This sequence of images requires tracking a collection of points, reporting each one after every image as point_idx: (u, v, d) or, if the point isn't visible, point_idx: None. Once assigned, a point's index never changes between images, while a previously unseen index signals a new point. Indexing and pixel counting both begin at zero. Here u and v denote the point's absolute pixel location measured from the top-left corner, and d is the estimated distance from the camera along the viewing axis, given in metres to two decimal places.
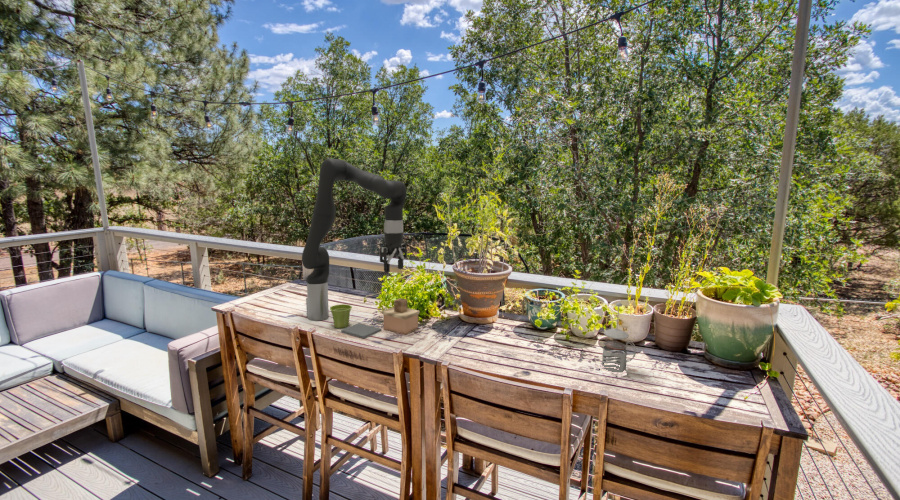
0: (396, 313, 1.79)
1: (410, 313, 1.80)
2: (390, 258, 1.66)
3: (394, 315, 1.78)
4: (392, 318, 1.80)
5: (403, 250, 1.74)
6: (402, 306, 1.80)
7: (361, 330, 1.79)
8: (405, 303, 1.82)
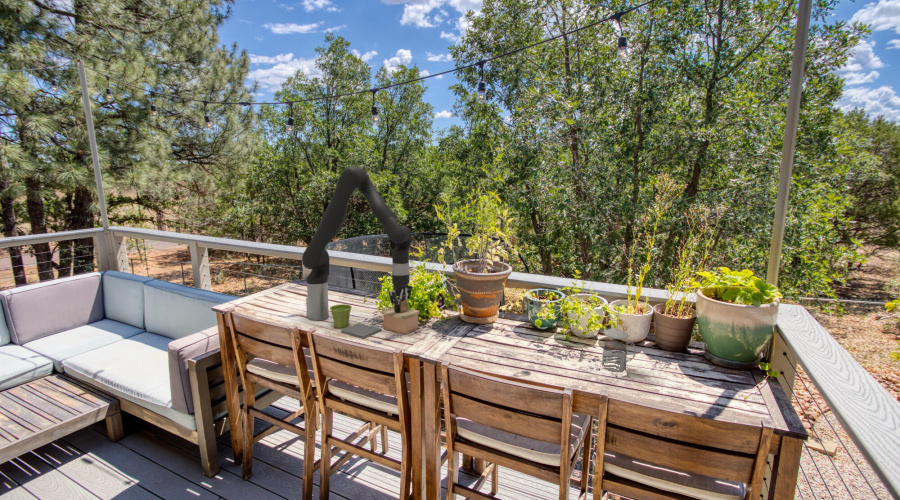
0: (396, 313, 1.79)
1: (410, 313, 1.80)
2: (399, 299, 1.79)
3: (394, 315, 1.78)
4: (392, 318, 1.80)
5: (408, 291, 1.85)
6: (402, 306, 1.80)
7: (361, 330, 1.79)
8: (405, 303, 1.82)
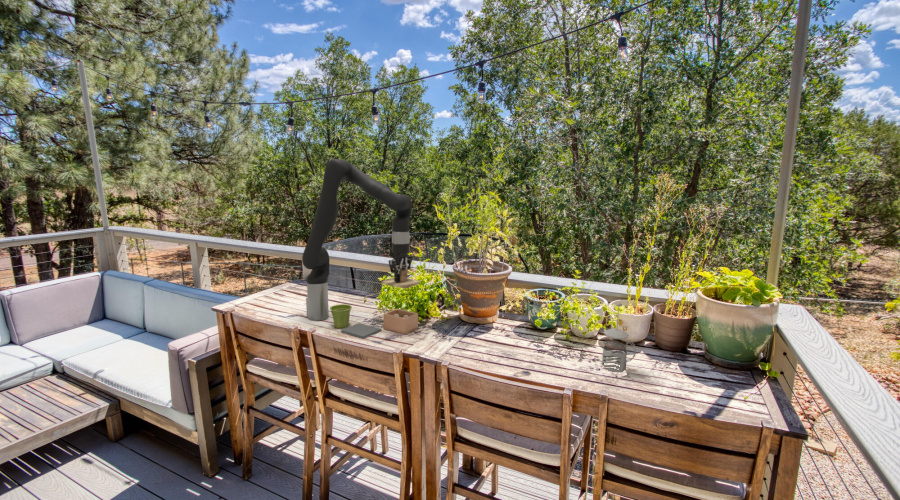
0: (396, 283, 1.77)
1: (410, 283, 1.77)
2: (399, 268, 1.77)
3: (394, 284, 1.76)
4: (392, 318, 1.80)
5: (408, 262, 1.83)
6: (402, 276, 1.78)
7: (361, 330, 1.79)
8: (405, 273, 1.79)
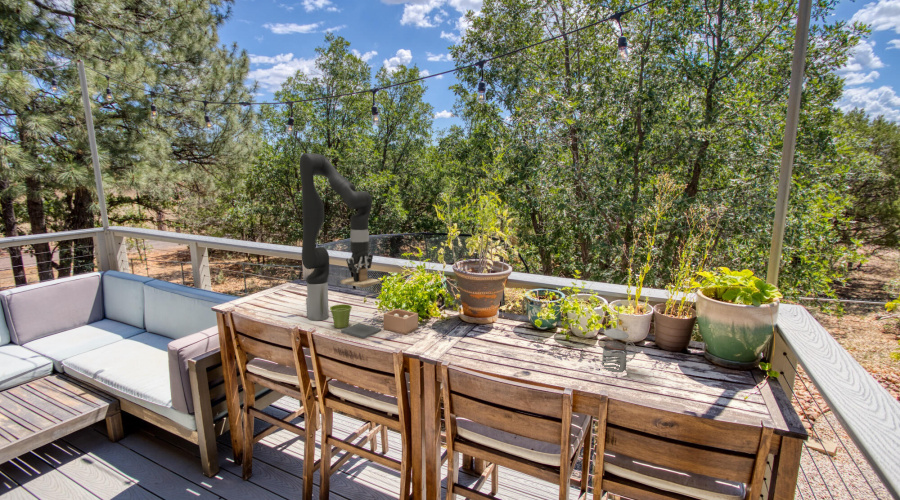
0: (355, 282, 1.73)
1: (369, 282, 1.73)
2: (358, 267, 1.73)
3: (353, 283, 1.72)
4: (392, 318, 1.80)
5: (368, 260, 1.79)
6: (361, 275, 1.74)
7: (361, 330, 1.79)
8: (365, 272, 1.75)
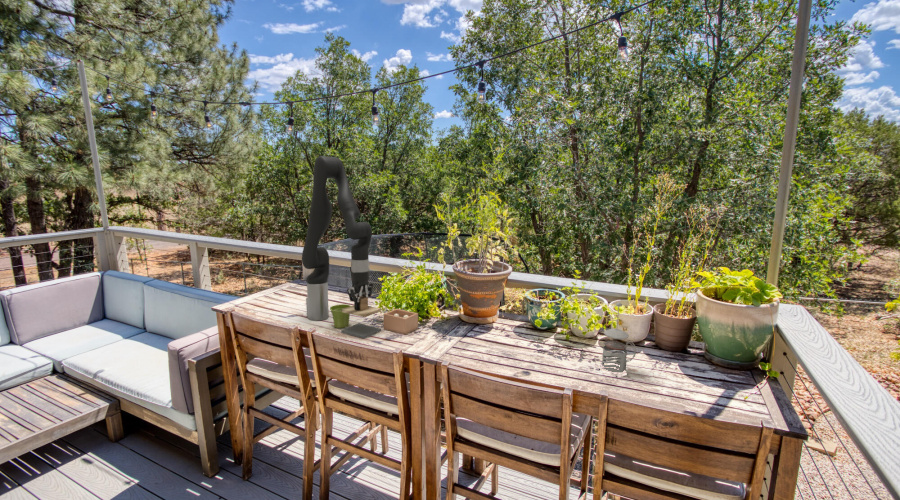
0: (356, 311, 1.75)
1: (370, 311, 1.75)
2: (359, 296, 1.75)
3: (353, 313, 1.74)
4: (392, 318, 1.80)
5: (369, 289, 1.81)
6: (362, 304, 1.76)
7: (361, 330, 1.79)
8: (365, 301, 1.77)
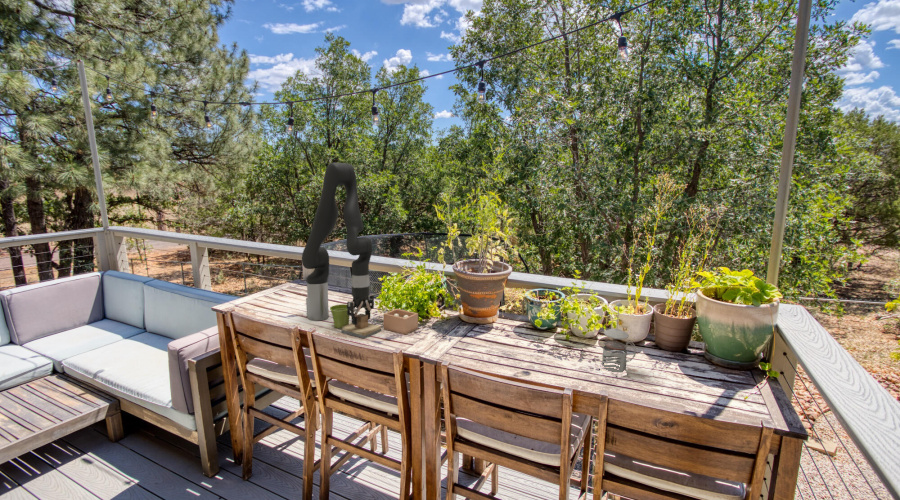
0: (356, 329, 1.76)
1: (370, 329, 1.77)
2: (357, 311, 1.75)
3: (354, 331, 1.75)
4: (392, 318, 1.80)
5: (370, 301, 1.82)
6: (362, 322, 1.77)
7: None
8: (366, 319, 1.79)
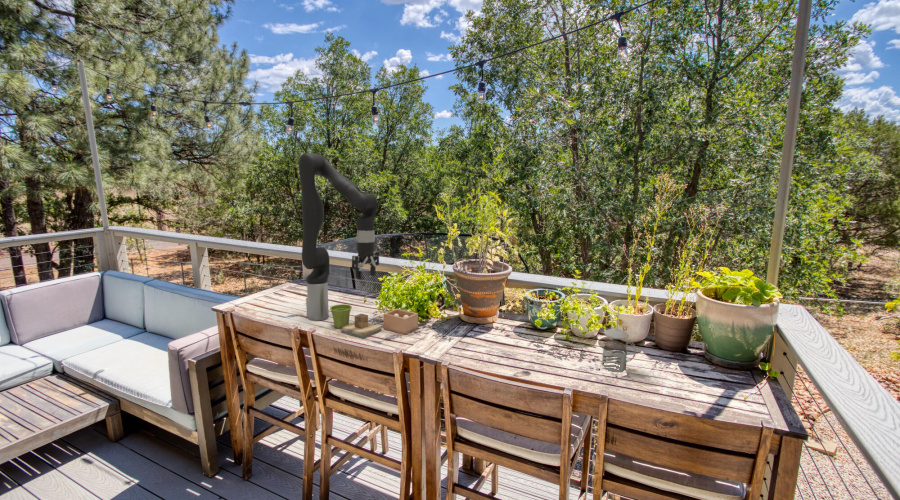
0: (356, 329, 1.76)
1: (370, 329, 1.77)
2: (362, 266, 1.77)
3: (354, 331, 1.75)
4: (392, 318, 1.80)
5: (375, 258, 1.85)
6: (362, 322, 1.77)
7: None
8: (366, 319, 1.79)
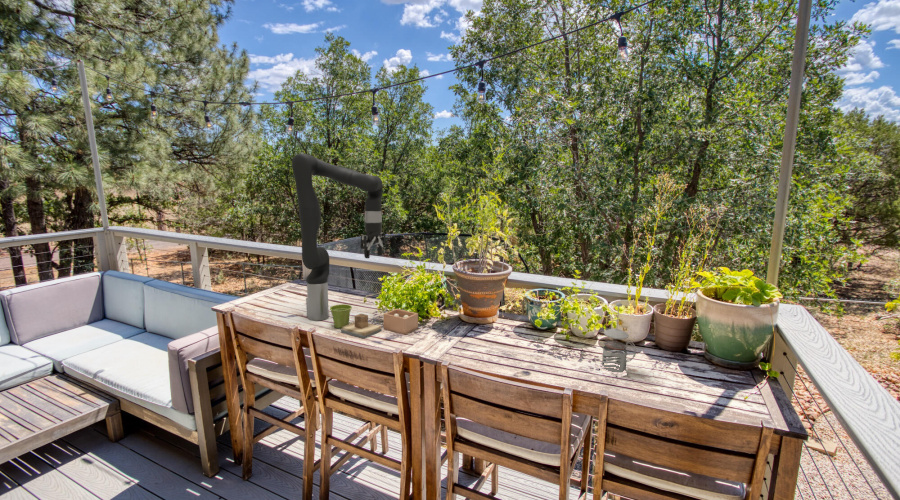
0: (356, 329, 1.76)
1: (370, 329, 1.77)
2: (370, 245, 1.85)
3: (354, 331, 1.75)
4: (392, 318, 1.80)
5: (382, 238, 1.93)
6: (362, 322, 1.77)
7: None
8: (366, 319, 1.79)
